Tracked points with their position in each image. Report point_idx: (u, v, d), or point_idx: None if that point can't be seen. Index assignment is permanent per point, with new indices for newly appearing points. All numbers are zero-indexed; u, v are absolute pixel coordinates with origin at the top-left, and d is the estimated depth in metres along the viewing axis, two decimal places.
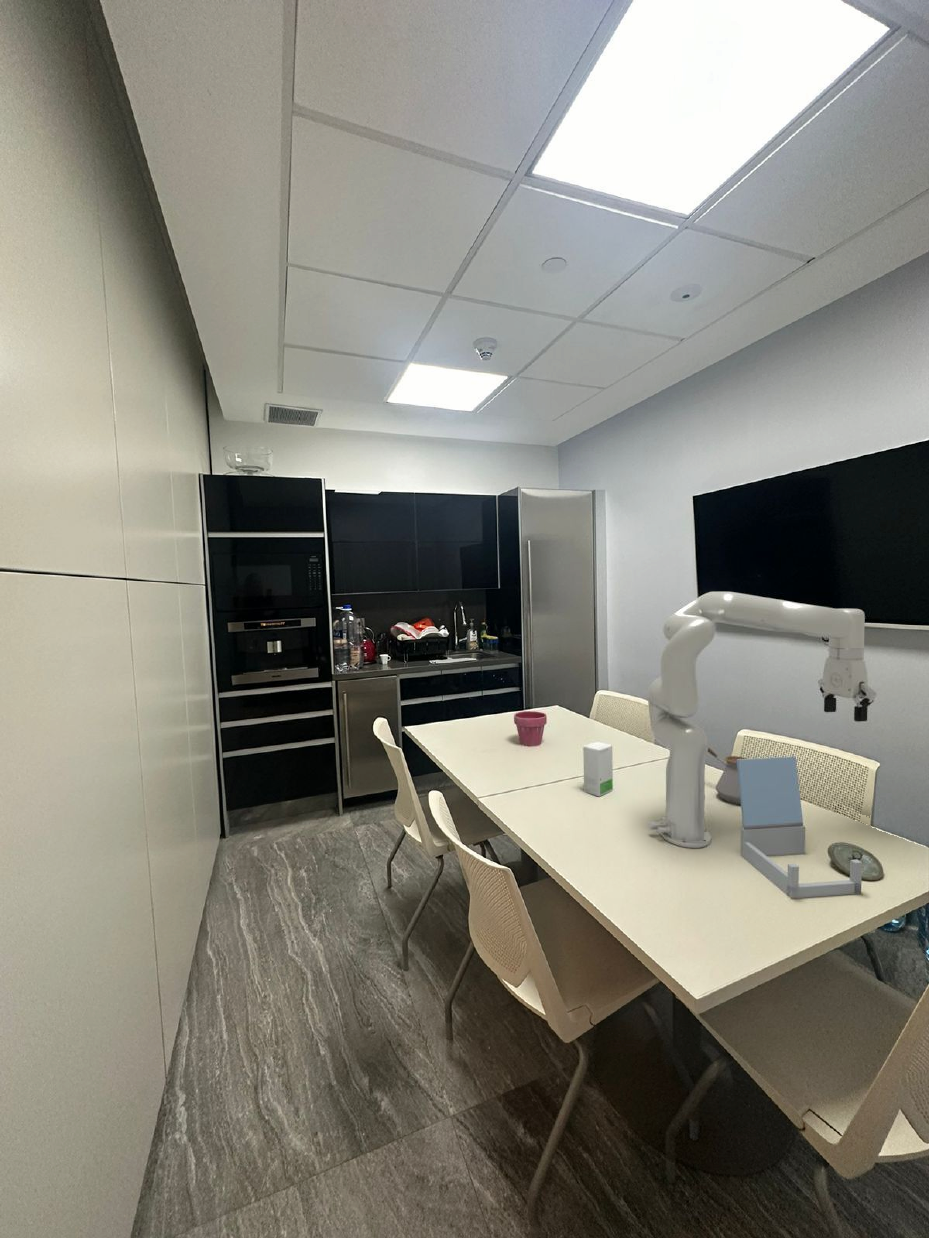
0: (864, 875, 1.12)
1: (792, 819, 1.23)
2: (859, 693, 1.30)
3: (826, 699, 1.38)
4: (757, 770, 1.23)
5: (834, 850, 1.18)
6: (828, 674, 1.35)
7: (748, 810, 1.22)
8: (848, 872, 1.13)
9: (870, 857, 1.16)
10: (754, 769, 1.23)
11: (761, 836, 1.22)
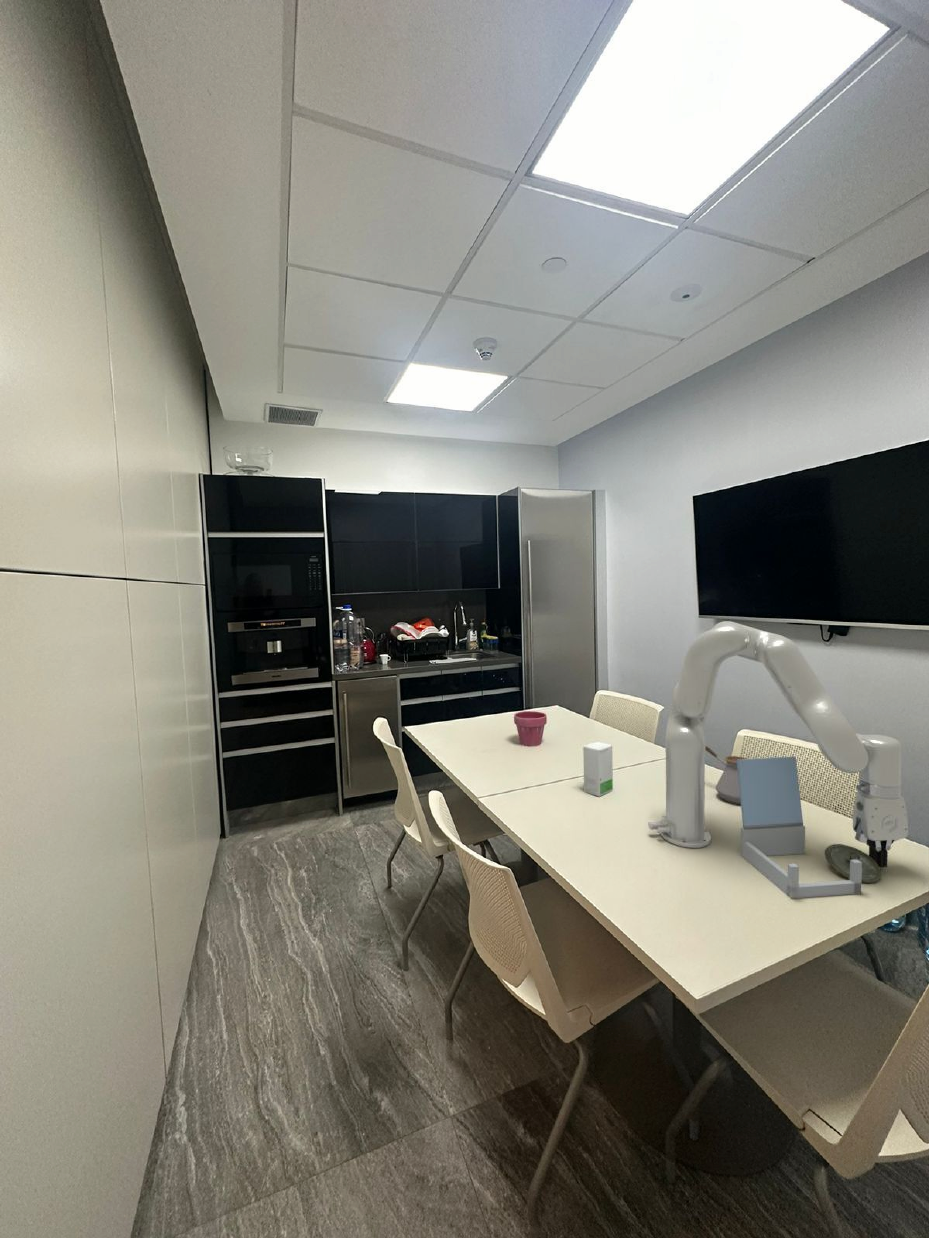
0: None
1: (792, 819, 1.23)
2: None
3: None
4: (757, 770, 1.23)
5: (831, 852, 1.17)
6: (879, 819, 1.12)
7: (748, 810, 1.22)
8: (845, 874, 1.12)
9: (867, 859, 1.15)
10: (754, 769, 1.23)
11: (761, 836, 1.22)
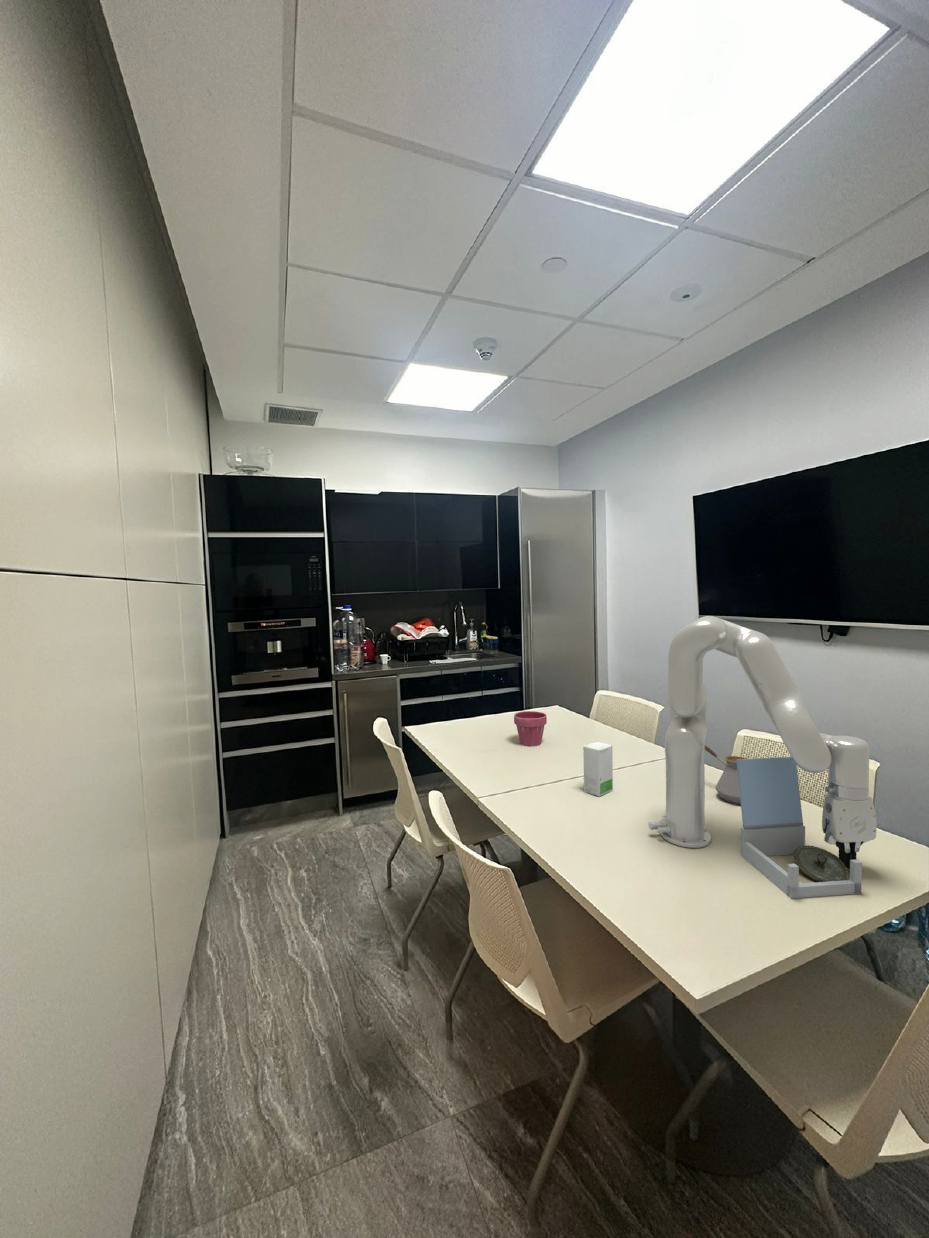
0: (826, 879, 1.11)
1: (792, 819, 1.23)
2: None
3: (851, 854, 1.14)
4: (757, 770, 1.23)
5: (799, 853, 1.17)
6: (847, 820, 1.12)
7: (748, 810, 1.22)
8: (810, 875, 1.12)
9: (836, 862, 1.15)
10: (754, 769, 1.23)
11: (761, 836, 1.22)
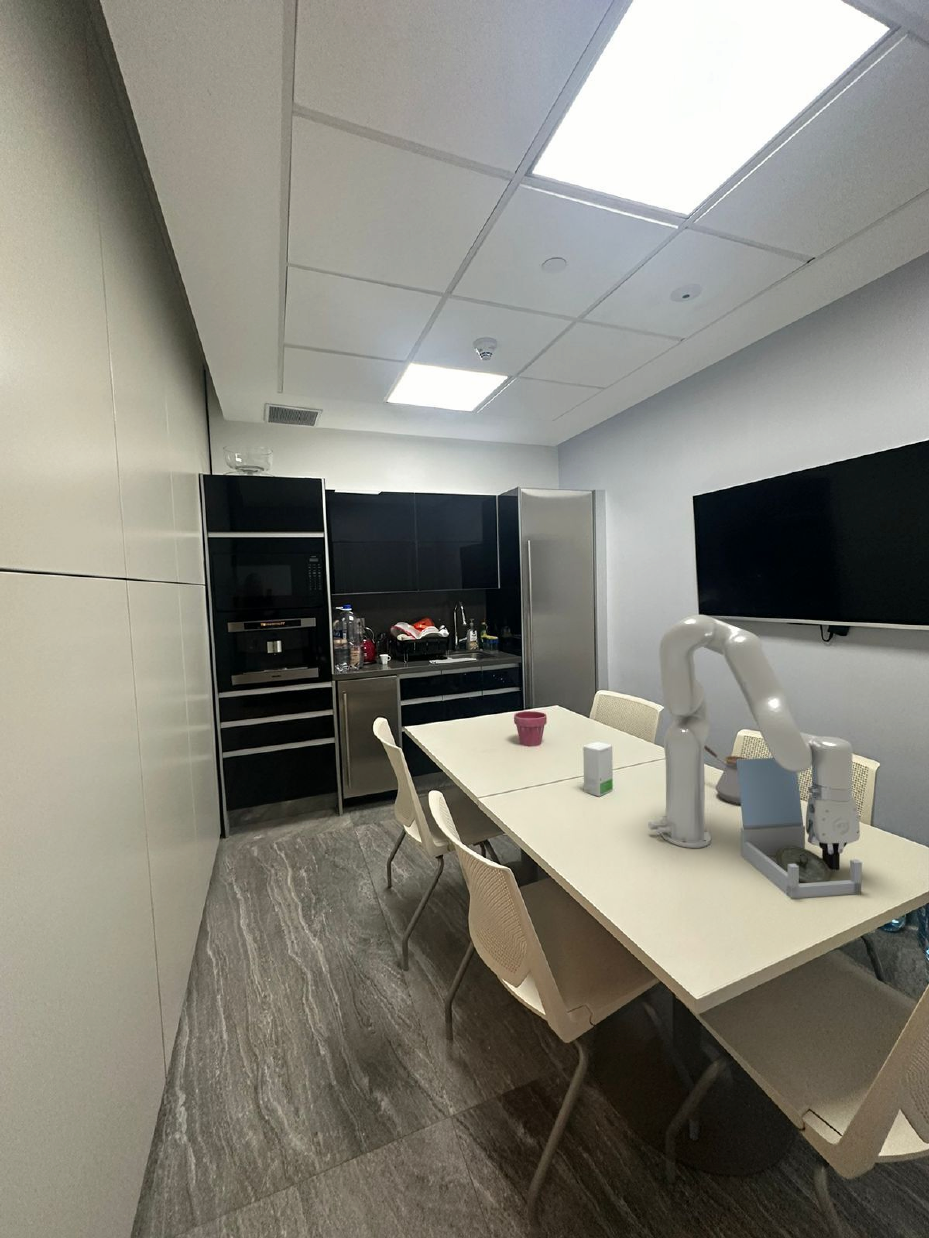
0: (807, 879, 1.11)
1: (792, 819, 1.23)
2: None
3: (835, 855, 1.14)
4: (757, 770, 1.23)
5: (782, 853, 1.18)
6: (830, 821, 1.12)
7: (748, 810, 1.22)
8: None
9: (819, 863, 1.14)
10: (754, 769, 1.23)
11: (761, 836, 1.22)
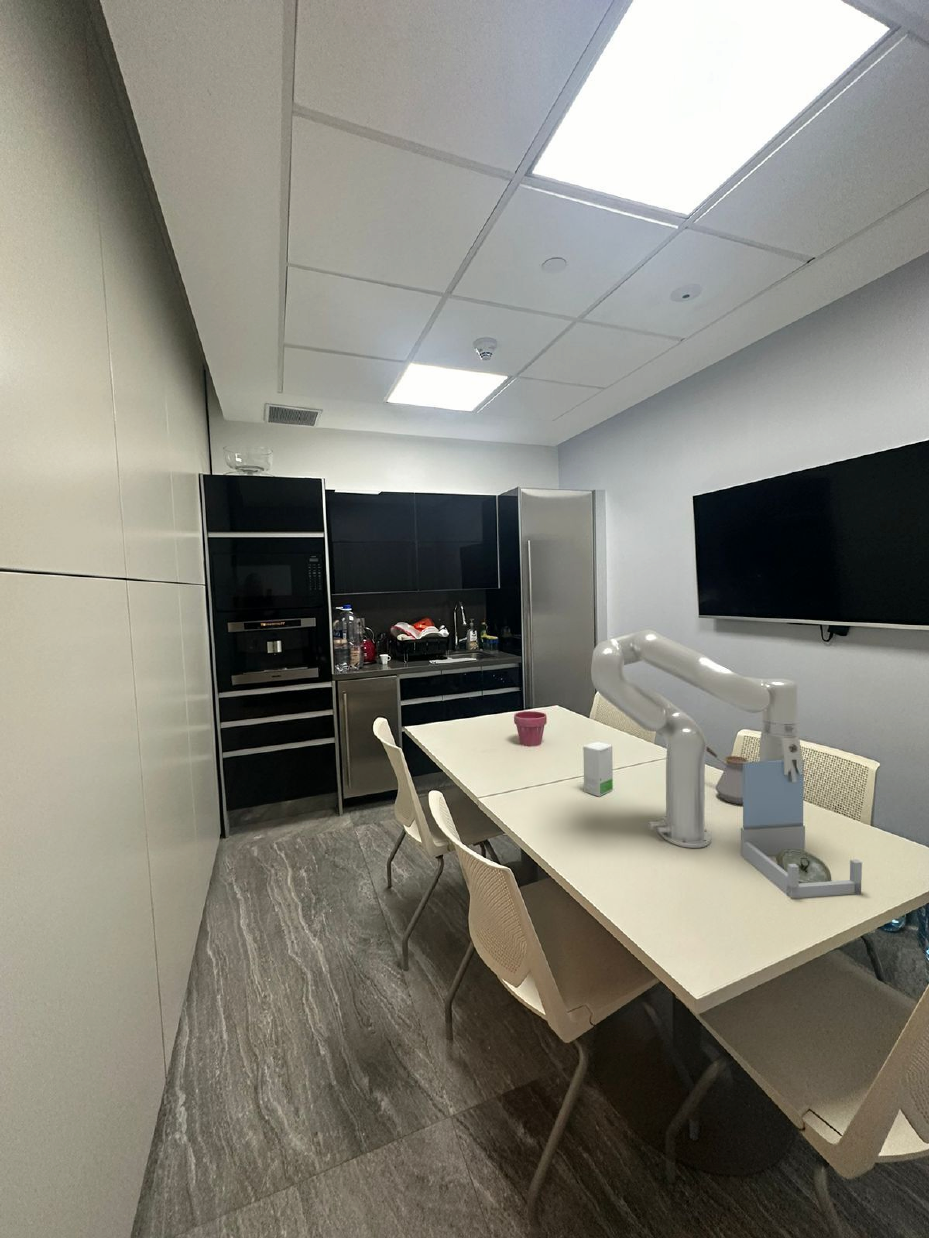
0: None
1: (793, 820, 1.22)
2: None
3: None
4: (763, 773, 1.21)
5: (783, 856, 1.16)
6: None
7: (750, 811, 1.22)
8: None
9: (820, 866, 1.13)
10: (761, 772, 1.21)
11: (761, 836, 1.22)
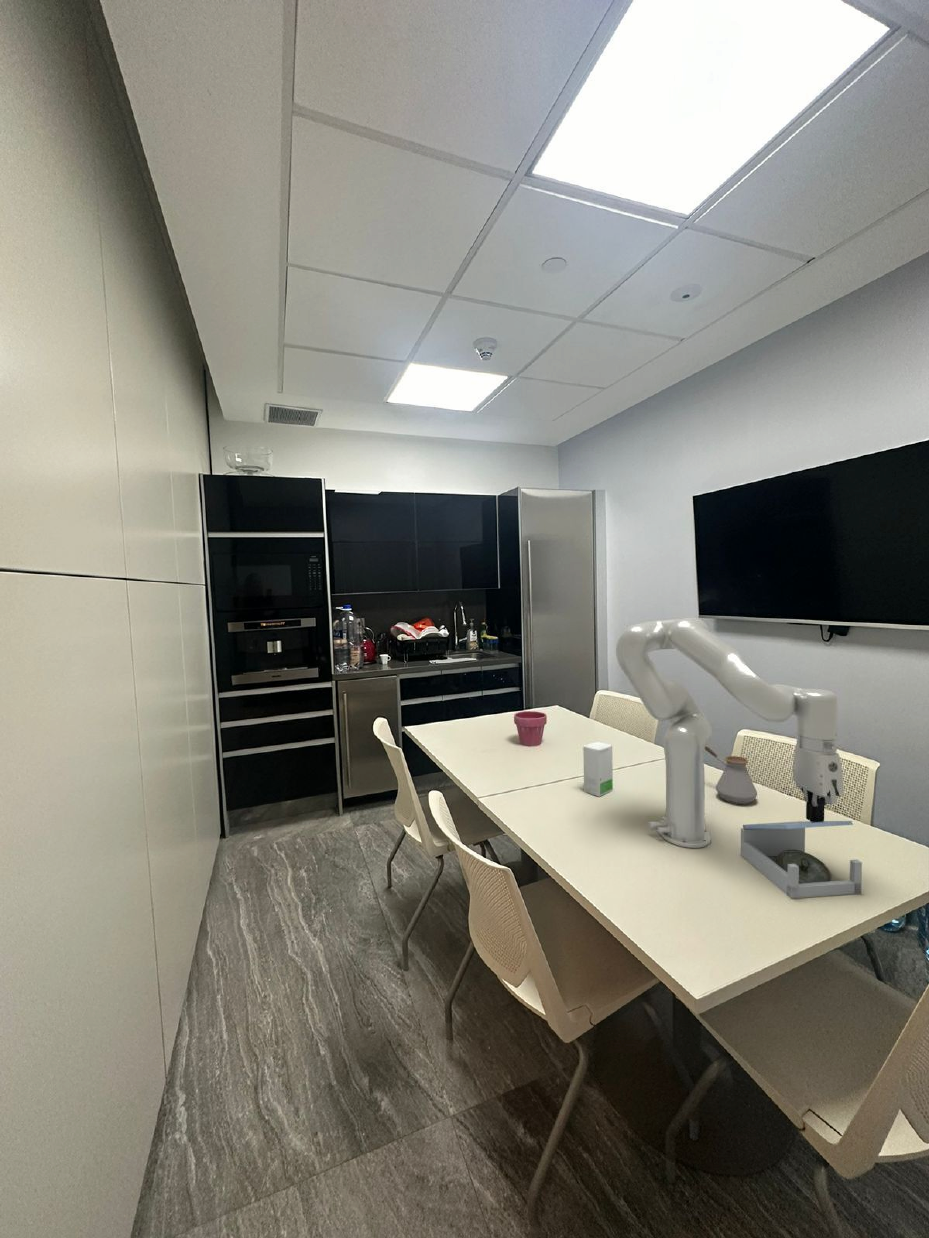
0: None
1: None
2: None
3: None
4: None
5: (783, 857, 1.16)
6: None
7: None
8: None
9: (820, 866, 1.13)
10: None
11: (761, 836, 1.22)
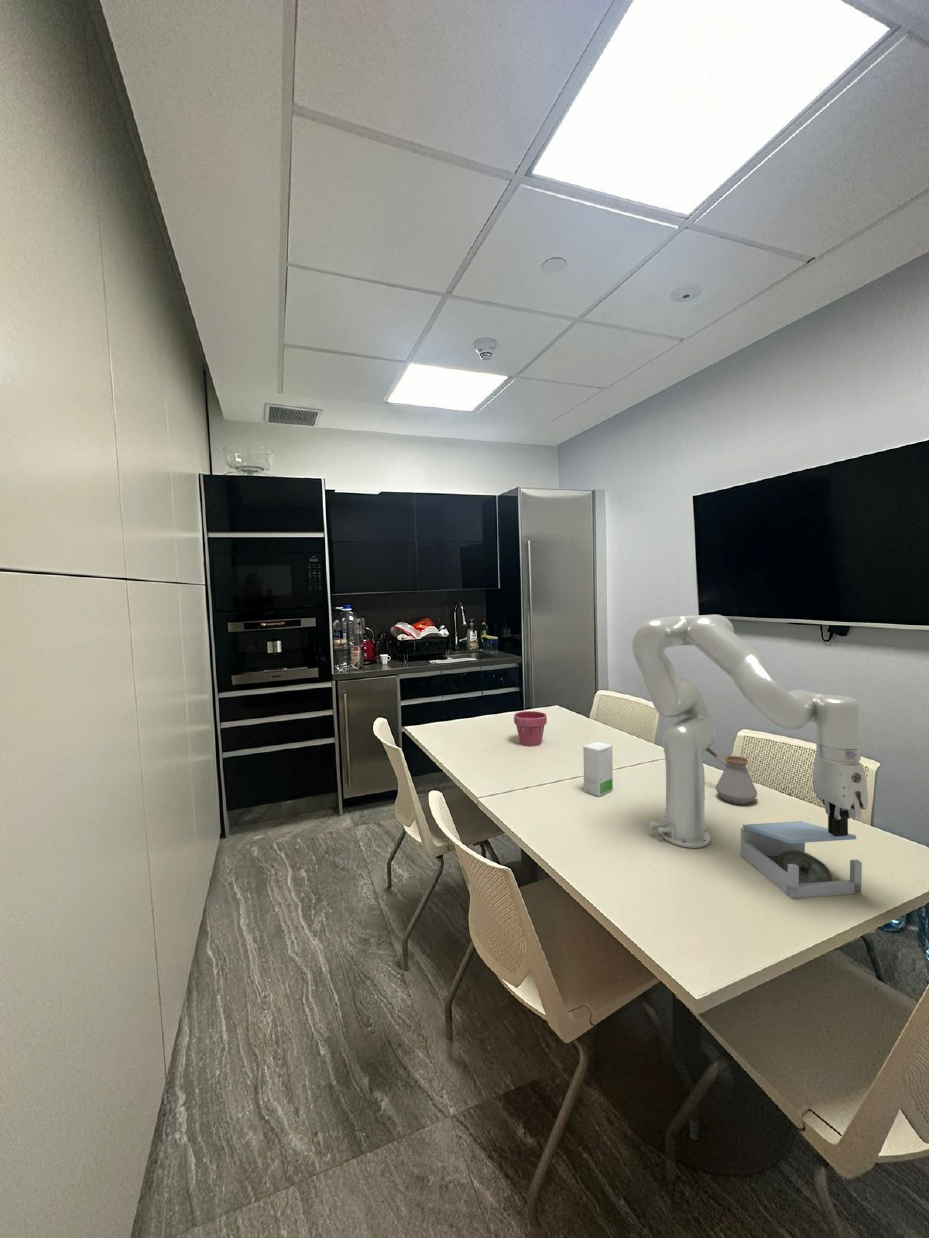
0: None
1: None
2: None
3: None
4: None
5: (784, 858, 1.16)
6: None
7: None
8: None
9: (821, 867, 1.13)
10: None
11: (761, 836, 1.22)
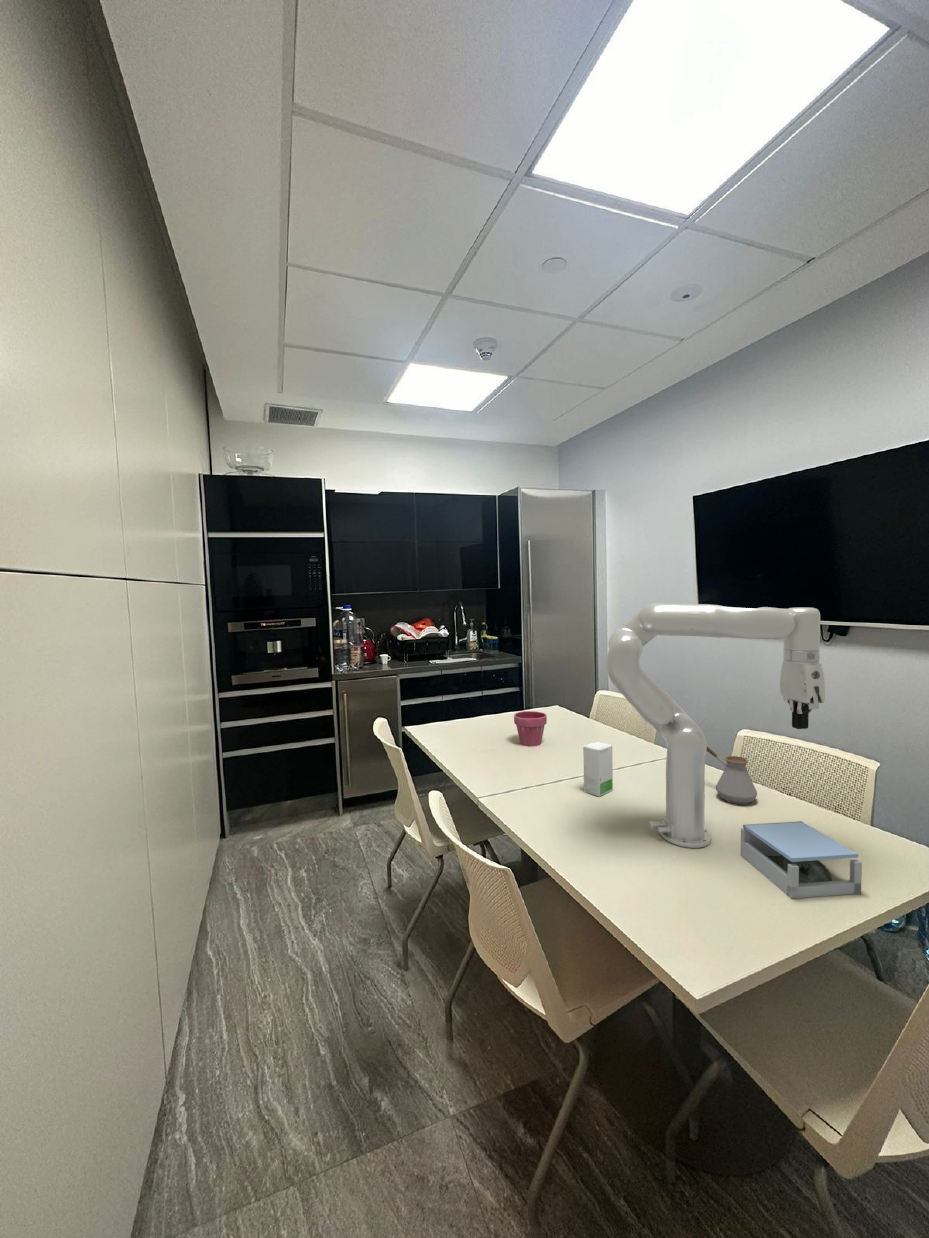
0: None
1: None
2: None
3: None
4: None
5: (784, 859, 1.15)
6: None
7: None
8: None
9: (821, 868, 1.12)
10: None
11: None
